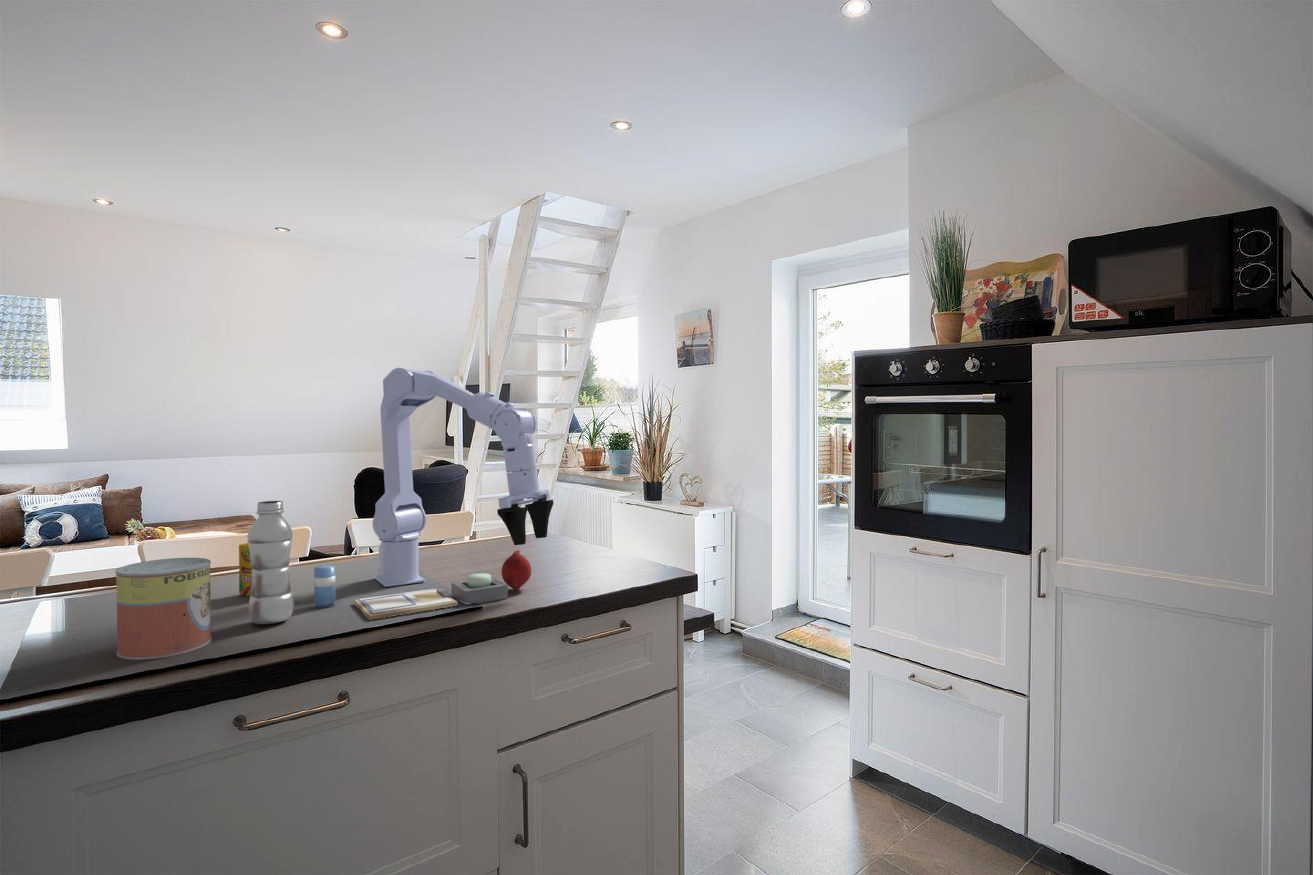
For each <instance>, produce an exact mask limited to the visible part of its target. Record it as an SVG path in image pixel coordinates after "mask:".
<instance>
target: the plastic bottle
mask: <svg viewBox="0 0 1313 875" xmlns="http://www.w3.org/2000/svg"><path fill="white" fill-rule="evenodd" d="M284 512H285V510H284V500H265V501H264V500H263V501H258V502H257V510H256V515H258V516H257V519H256V520H255V521H254V522H253V523H252V524H251V527H250V528H249V530H248V533H247V535H246V538H247V543H248V545H249V551H250V556H251V566H252V586H251V597H249V600H248V607H247V608H248V609H247V612H248V616H249V619H250V621H251V622H252V623H254V624H258V625H272V624H277V623H280V622H284V621H286V620H288V619H290V618H291V617H292V615H293V613H294V608H295V602H294V594H293V592H292V586H291V576H290V575H291V574H290V561H291V560H290V559H291V557H290V556H291V550H292V549H291V548H292V542H293V530H292V529H293V528H292V527H291V526H290V524H289V523H288V521H287V520H286V519H285V518H284V517H283V513H284Z"/></svg>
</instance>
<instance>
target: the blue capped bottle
mask: <svg viewBox="0 0 1313 875" xmlns="http://www.w3.org/2000/svg"><path fill="white" fill-rule="evenodd" d="M313 573H314V575H313V579H314V580H313V588H314V590H313V593H314V595H313V597H314V598H313V599H314V600H313V602H314V603H313V604H314V605H315V608H317V609H326V608H327V609H328V608H332V607H334V606H335V603H336V566H335V565H333V564H323V565H318V566H314V569H313Z"/></svg>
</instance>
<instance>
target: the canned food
mask: <svg viewBox="0 0 1313 875" xmlns="http://www.w3.org/2000/svg"><path fill="white" fill-rule="evenodd" d="M211 564H212V561H211V559H208V558H204V557H172V558H161V559H154V560H152V559H151V560H147V561H140V562H135V563H130V564H127V565H123V566H121V567H118V568H117V569H115V575H116V630H117V631H116V635H117V637H116V638H117V639H116V642H117V644H116V645H117V650H116V656H117V657H118V658H120V659H124V660H131V661H132V660H133V661H136V660H137V661H140V660H143V661H145V660H155V659H163V658H168V657H169V658H170V657H174V656H178V655H182V654H186V653H190V652H193V651H195V650H198V649H201V648H203V647H205V646H208V645H209V644H210V643H211V642H212V640H213V638H212V628H211V627H212V625H211V623H212V620H211V619H212V618H211V617H212V616H211V614H212V612H211V607H212V605H211Z"/></svg>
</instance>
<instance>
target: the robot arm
mask: <svg viewBox="0 0 1313 875" xmlns="http://www.w3.org/2000/svg"><path fill="white" fill-rule="evenodd" d="M382 387H383V389H382V390H383V397H382V399H381V400H382V401H381V404H380V424H381V426H380V428H381V442H382V458H383V460H382V462H383V480H384V493H383V495H381V497H380V498H379V499H378V500H377V501H376V502H375V504H374V505H375V506H374V507H375V511H374V515H373V519H372V528H373V531H374V534H375V535H376V536H377V538H378V541H381V542H380V544H379V547H378V574H377V575H374V576H373V579H375V581H377V582H378V583H379V584H381V585H382V586H383V587H385V588H387V587H394V586H396V587H397V586H402V585H411V584H417V583H422V582H423V583H424V582H426V579H425V578H423V577H422V576H421V575H420V574H419V570H420V569H419V537H421V532H422V531H423V530H424V529H425V527H426V525H427V515H426V511H425V510H424V508H423V507H424V506H423V502H422V498H421V496H419V495H418V494H417V493H416V492H415V491H414V480H413V460H412V445H411V444H412V443H411V427H410V426H411V425H410V417H411V415H412V414H413V413H414V412H416V410H417V409H418V408H420V407H421V406H422V407H423V405H426V404H427V403H430V402H431V401H433V400H434V399H435V398H436V397H438V398H441V399H443V400H445V401H448V402H450V403H452V404H455V405H457V406H459V407H461V408H463V409H466V412H467V416H468V417H469V418H470V419H472V420H473V421H475V422H478V423H479V424H481V425H483V426H485V427H488V428H489V429H491V430H494V432H495V434H496V436H497V437H498V438H499V439H500V441H501V442H500V443H501V447H502V450H503V455H504V456H503V457H504V462H505V463H504V464H505V471H506V472H505V474H506V479H507V486H508V493H509V495H508V496H503V497H500V498H499V497H498V505H499V507H498V508H499V509H497V510H496V511H497V516H499V517H500V519H501V520H502V522H503V523H504V524H505V526H506V528H507V531H508V533H509V535H510V537H511V540H512V543H513V545H514V546H521V545H526V543H527V540H526V539H527V533H526V520H527V513H528V515H529V517H530V521H531V524H532V527H533V532H534V536H535V538H536V539H543V538H545V539H546V538H547V537H548V530H549V522H550V521H549V519H550V515H551V512H552V509H553V506H554V505H555V504H554V499H551V497H550V490H549V489H542V490H540V486H539V479H538V472H537V465H536V457H535V456H536V455H535V448H534V441H533V434H534V432H535V430H536V427H537V426H536V425H537V423H536V421H537V420H536V419H535V417H534V414H533V413H531V412H530V411H528V409H527V408H518V409H517V408H516V409H515V407H514V404H513V403H512V402H510V401H509V402H504V401H502V400H500V399H499V398H496V397H495V396H496V395H495V393H493V392H491V391H485V392H484V391H480V392H477V393H472V392H471V391H469V390H468V389H465V388H464V387H462V386H460V385H458V384H457V383H455V382H453V381H452V380H450V379H448V378H447V377H445V376H443V375H441V374H439V373H435V372H433V371H432V370H415V369H408V368H404V367H396V368H393V369H392V370H391V371H389V373H388V374H387V375H386V376H385V377H384V378H383V380H382ZM525 499H526V500H525ZM520 505H521V506H522V505H524V507H523V506H522V507H521V506H520Z"/></svg>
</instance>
